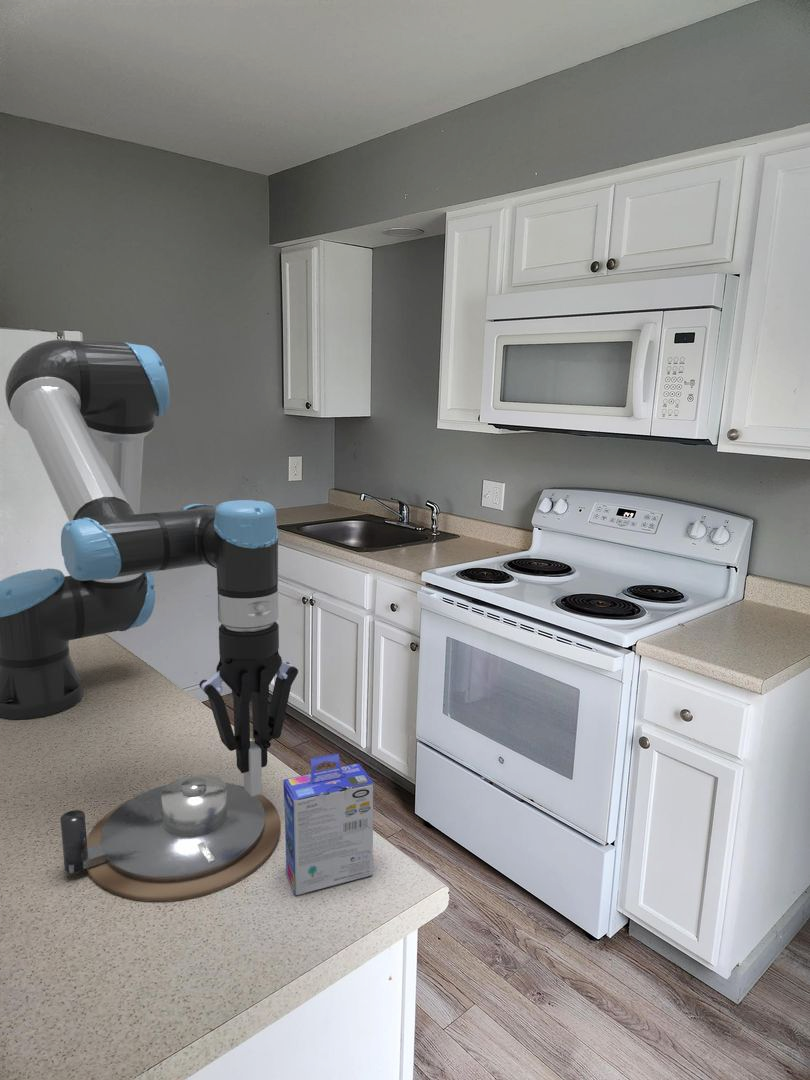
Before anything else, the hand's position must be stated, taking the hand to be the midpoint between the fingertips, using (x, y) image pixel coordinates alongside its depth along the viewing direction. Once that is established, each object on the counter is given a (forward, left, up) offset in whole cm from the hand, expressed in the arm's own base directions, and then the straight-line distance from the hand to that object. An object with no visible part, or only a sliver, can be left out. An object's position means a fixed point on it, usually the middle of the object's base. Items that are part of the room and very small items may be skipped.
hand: (252, 790), depth 98 cm
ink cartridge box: (+16, +3, -4) cm, 17 cm away
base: (0, -9, -4) cm, 10 cm away
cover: (0, -8, -2) cm, 8 cm away
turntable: (0, -11, -3) cm, 12 cm away
